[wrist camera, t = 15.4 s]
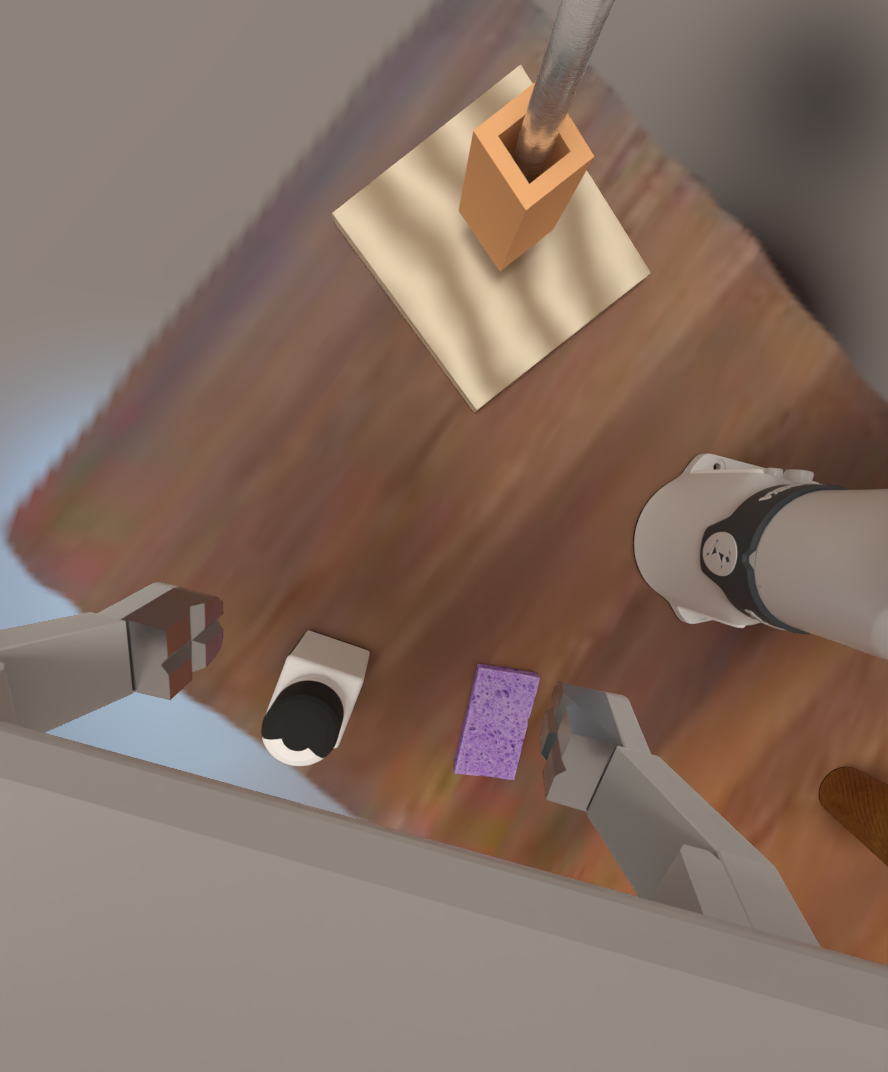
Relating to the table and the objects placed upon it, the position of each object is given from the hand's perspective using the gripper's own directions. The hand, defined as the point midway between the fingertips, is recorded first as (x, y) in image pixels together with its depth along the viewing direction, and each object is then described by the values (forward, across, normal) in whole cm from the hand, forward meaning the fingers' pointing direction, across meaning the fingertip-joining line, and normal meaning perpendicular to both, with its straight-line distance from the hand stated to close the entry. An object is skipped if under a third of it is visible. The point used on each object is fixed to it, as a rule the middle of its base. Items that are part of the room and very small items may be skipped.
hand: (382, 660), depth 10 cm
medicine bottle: (+27, +10, +24) cm, 38 cm away
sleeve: (+35, +2, -20) cm, 41 cm away
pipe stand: (+40, +2, -19) cm, 44 cm away
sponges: (+30, -8, +28) cm, 42 cm away
